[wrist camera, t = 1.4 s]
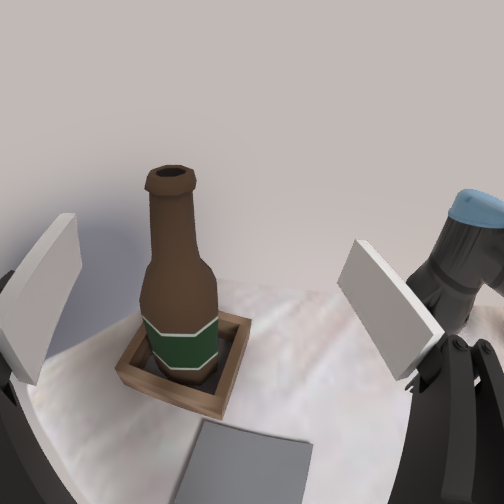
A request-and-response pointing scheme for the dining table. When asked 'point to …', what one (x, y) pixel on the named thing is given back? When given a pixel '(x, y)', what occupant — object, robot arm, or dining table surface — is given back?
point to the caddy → (178, 394)
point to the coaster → (244, 469)
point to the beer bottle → (178, 283)
